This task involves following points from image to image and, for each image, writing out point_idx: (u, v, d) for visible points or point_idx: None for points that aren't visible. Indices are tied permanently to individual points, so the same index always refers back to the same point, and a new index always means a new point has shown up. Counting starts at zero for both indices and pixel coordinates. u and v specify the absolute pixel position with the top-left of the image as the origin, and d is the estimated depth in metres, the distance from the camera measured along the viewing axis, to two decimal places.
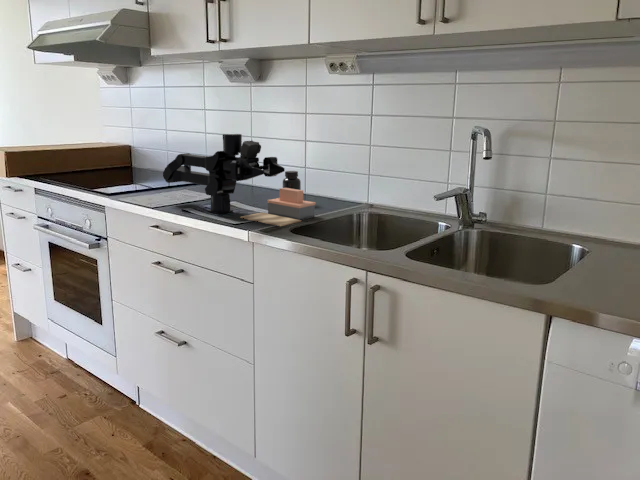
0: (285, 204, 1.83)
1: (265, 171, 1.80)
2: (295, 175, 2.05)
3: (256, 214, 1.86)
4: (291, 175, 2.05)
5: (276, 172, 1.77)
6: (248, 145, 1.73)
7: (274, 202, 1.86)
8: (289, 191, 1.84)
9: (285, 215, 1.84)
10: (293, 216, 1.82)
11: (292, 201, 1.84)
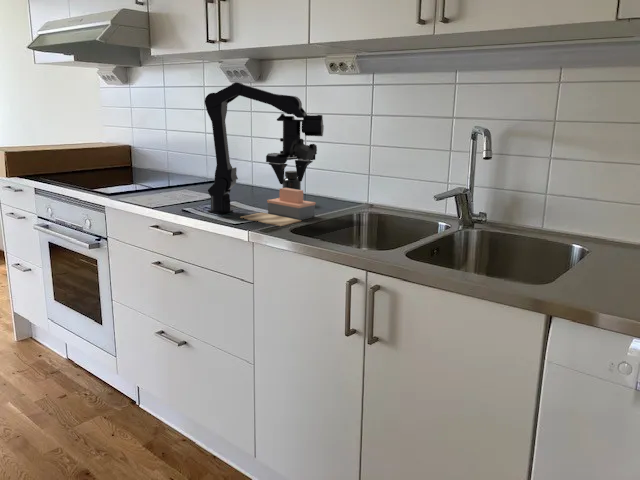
0: (285, 204, 1.83)
1: None
2: (295, 175, 2.05)
3: (256, 214, 1.86)
4: (291, 175, 2.05)
5: (297, 171, 1.89)
6: (303, 158, 1.77)
7: (274, 202, 1.86)
8: (289, 191, 1.84)
9: (285, 215, 1.84)
10: (293, 216, 1.82)
11: (292, 201, 1.84)
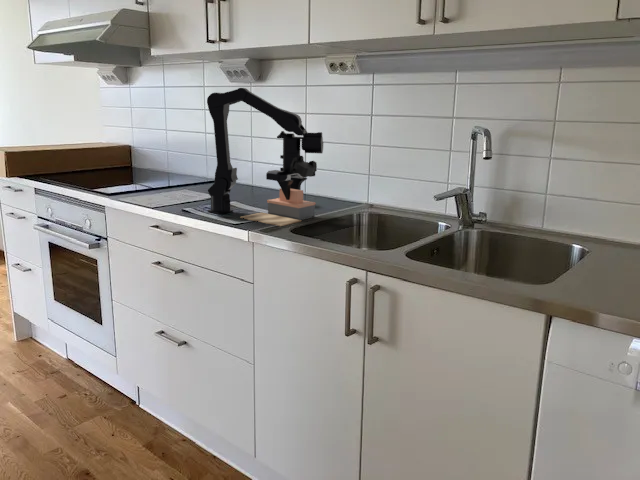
0: (285, 204, 1.83)
1: None
2: None
3: (256, 214, 1.86)
4: None
5: (292, 188, 1.88)
6: (303, 175, 1.78)
7: (274, 202, 1.86)
8: None
9: (285, 215, 1.84)
10: (293, 216, 1.82)
11: (292, 201, 1.84)
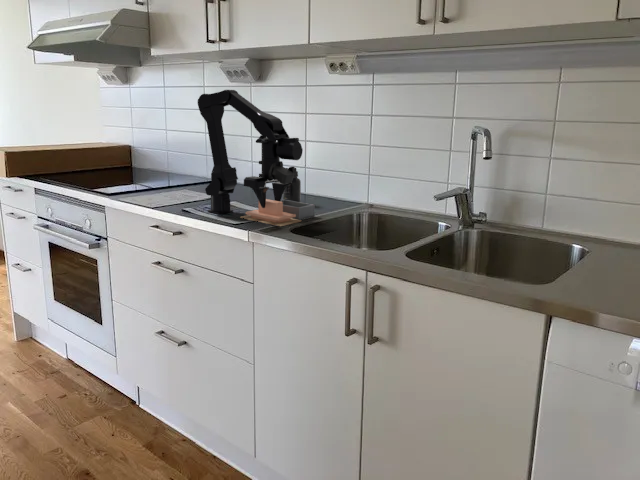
0: (264, 216, 1.76)
1: None
2: None
3: None
4: None
5: (274, 194, 1.82)
6: (282, 182, 1.71)
7: (253, 214, 1.79)
8: (268, 203, 1.77)
9: None
10: None
11: (271, 213, 1.77)
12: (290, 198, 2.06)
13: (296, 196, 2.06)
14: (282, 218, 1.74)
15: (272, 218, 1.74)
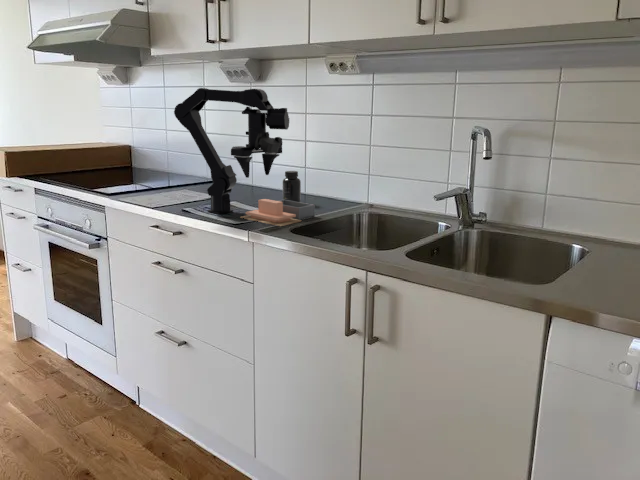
0: (264, 216, 1.76)
1: None
2: (295, 175, 2.05)
3: None
4: (291, 175, 2.05)
5: (264, 164, 1.88)
6: (268, 151, 1.76)
7: (253, 214, 1.79)
8: (268, 203, 1.77)
9: None
10: None
11: (271, 213, 1.77)
12: (290, 198, 2.06)
13: (296, 196, 2.06)
14: (282, 218, 1.74)
15: (272, 218, 1.74)
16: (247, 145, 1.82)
